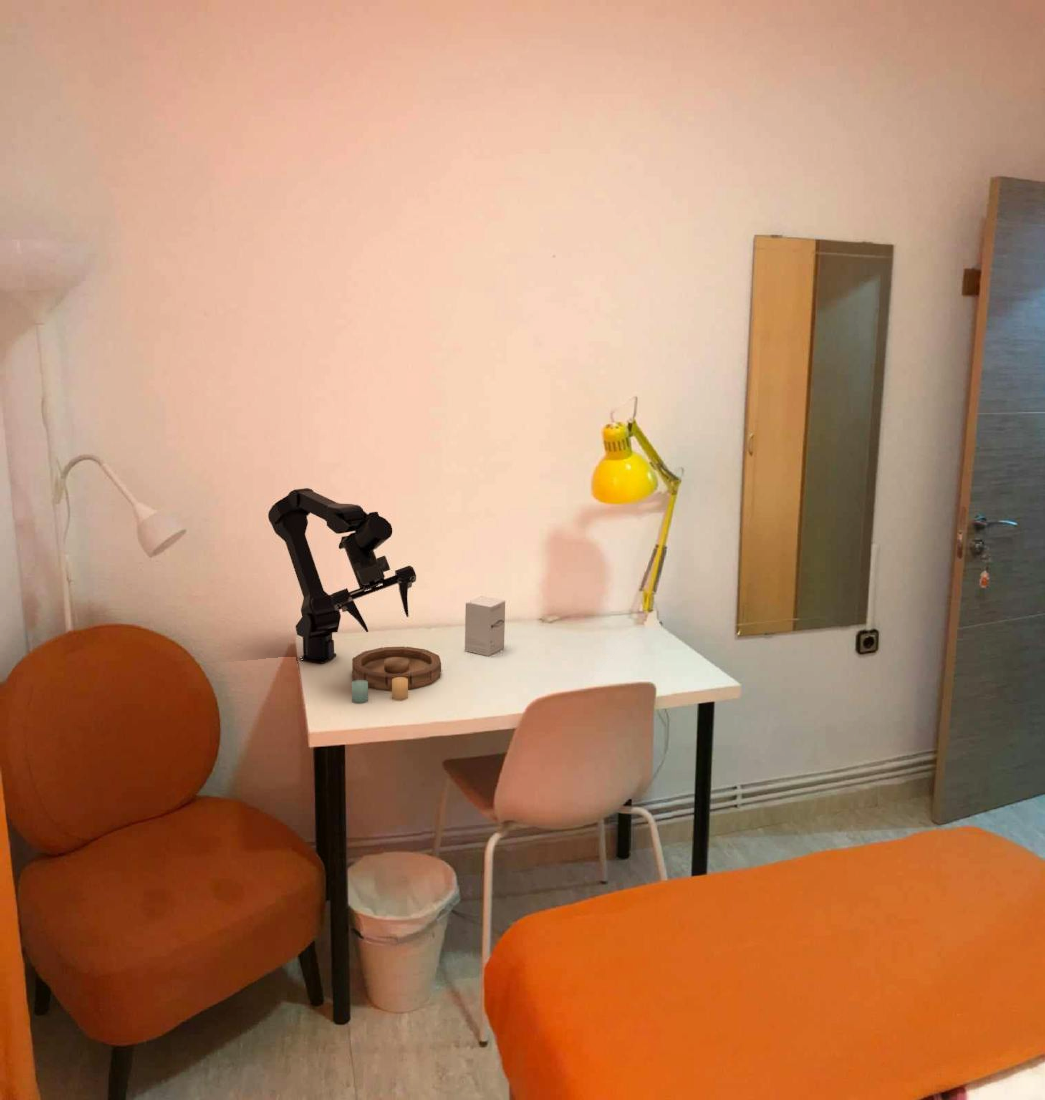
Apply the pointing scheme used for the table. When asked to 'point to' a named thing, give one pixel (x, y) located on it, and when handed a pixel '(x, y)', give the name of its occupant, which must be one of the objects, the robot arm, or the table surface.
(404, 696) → the bead
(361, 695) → the bead
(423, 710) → the table surface
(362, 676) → the groove tray
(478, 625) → the supplement box
